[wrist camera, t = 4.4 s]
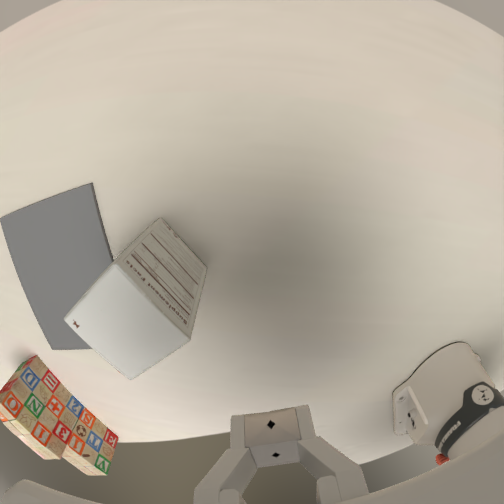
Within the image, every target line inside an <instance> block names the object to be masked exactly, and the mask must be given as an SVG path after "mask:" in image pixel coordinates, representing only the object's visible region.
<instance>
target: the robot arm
mask: <svg viewBox="0 0 504 504" xmlns="http://www.w3.org/2000/svg"><path fill="white" fill-rule="evenodd" d="M480 362H481V359H480V357H479V356H478V355H477V354H474V353H473V351H472V349H471V347H470V346H469V345H468V344H466V343H462V342H460V343H454V344H451V345H449V346H446V347H444V348H443V349H441V350H439V351H438V352H436V353H435V354H433V355H432V356H431V357H430V358H428V359H427V360H426V361H425V362H424V363H423V364H422V365H421V366H420V367H419V368H418V369H417V370H416V371H415V373H414V374H413V375H412V376H411V377H410V378H409V379H408V380H407V381H406V382H405V383H403V384H402V385H401V386H399V387H398V388H397V389H396V390H395V391H394V392H393V413H394V432H395V434H396V435H405V434H409V435H410V437H411V439H412V440H413V442H414V443H415V444H416V445H435V446H436V448H438V450H439V451H440V452H441V454H438V455H437V456H436V461H437V464H439V465H441V464H443V463H444V462H446V461H449V460H450V461H449V462H447V463H445V464H443V465H441V466H439V467H437V468H434V469H433V470H430V471H428V472H426V473H424V474H421V475H419V476H417V477H414V478H412V479H410V480H407V481H405V482H402V483H399V484H397V485H394V486H391V487H388V488H386V489H383V490H380V491H377V492H374V493H371V494H369V492H368V489H367V485H366V482H365V479H364V476H363V472H362V469H361V467H360V466H359V465H357V464H356V463H355V462H353V461H352V460H350V459H349V458H348V457H346V456H345V455H344V454H342V453H341V452H340V451H338V450H337V449H336V448H334V447H333V446H332V445H330V444H329V443H328V442H327V441H325V440H324V439H323V438H321V437H320V436H319V437H316V434H315V430H314V426H313V422H312V418H311V413H310V409H309V406H308V405H303V406H298V407H291V408H286V409H280V410H274V411H270V412H263V413H254V414H244V415H234V416H232V417H231V447H230V448H231V449H227V450H226V451H225V453H224V454H223V455H222V456H221V458H220V459H219V460H218V461H217V463H216V464H215V465H214V466H213V468H212V469H211V470H210V471H209V473H208V474H207V475H206V476H205V477H204V478H203V480H202V481H201V482H200V483H199V484H198V486H197V487H196V488H195V492H194V504H246V502H245V501H244V499H243V498H242V496H241V495H242V494H243V492H244V490H245V489H246V487H247V486H248V484H249V482H250V481H251V479H252V477H253V476H254V474H255V472H256V471H257V468H258V467H266V466H273V465H279V464H288V463H295V462H300V463H301V464H302V465H303V466H304V467H305V468H306V469H307V470H308V471H309V472H310V473H311V474H312V475H313V476H314V477H315V478H316V479H317V480H318V481H317V504H504V397H503V396H502V395H501V394H500V392H499V391H498V390H497V389H495V385H494V383H493V382H492V380H491V379H490V377H489V375H488V374H487V372H486V371H485V369H484V368H483V366H482V365H481V363H480ZM0 504H101V503H97V502H93V501H89V500H85V499H81V498H78V497H75V496H71V495H68V494H65V493H62V492H59V491H56V490H53V489H51V488H47V487H45V486H43V485H40V484H37V483H35V482H33V481H30V480H22V481H20V482H18V483H16V484H15V485H13V486H12V487H10V488H9V489H8V490H6V492H5V493H4V495H3V497H2V499H1V502H0Z"/></svg>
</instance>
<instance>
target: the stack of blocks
mask: <svg viewBox="0 0 504 504" xmlns="http://www.w3.org/2000/svg"><path fill="white" fill-rule="evenodd" d="M0 419H1V420H2V421H3V424H4V425H5V426H6V427H7V428H8V429H9V430H11V432H13V433H14V434H15V435H16V436H17V437H18V438H20V439H21V440H22V441H23V442H24V443H25V444H27V445H28V446H29V447H30V448H31V449H32V450H33V451H35V452H36V453H37V454H38V455H39V456H41V457H42V458H44V459H61V457H63V458H65V459H66V460H67V461H69V462H70V463H71V464H73V465H74V466H76V467H77V468H78V469H79V470H81V471H82V472H84V473H85V474H87V475H107V474H108V471H109V468H110V464H111V459H112V457H113V454H114V451H115V447H116V444H117V441H118V438H119V437H117V436H116V435H115V434H114V433H113V432H111V431H110V430H109V429H108V428H107V427H106V426H105V425H104V424H103V423H102V422H100V421H99V420H98V419H97V418H96V417H95V416H94V415H93V414H92V413H91V412H89V411H88V410H87V409H86V408H85V407H84V406H83V405H82V404H81V403H80V402H79V401H78V400H77V399H76V398H75V397H74V396H73V395H72V394H71V393H70V392H69V391H68V390H67V389H66V388H65V387H64V386H63V385H62V384H61V383H60V381H59V380H58V379H57V378H56V377H55V376H54V375H53V374H52V372H51V371H50V370H49V369H48V368H47V367H46V365H45V364H44V363H43V362H42V361H41V359H40V358H39V357H38V356H37V355H36V356H34V357H32V358H30V359H29V360H27V361H25V362H23V363H22V364H21V365H20V366H19V367H18V369H17V370H16V371H15V373H14V374H13V375H12V377H11V378H10V379H9V380H8V382H7V383H6V384H5V385H4V387H3V388H2V389H1V391H0Z"/></svg>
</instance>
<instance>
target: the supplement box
mask: <svg viewBox="0 0 504 504" xmlns="http://www.w3.org/2000/svg"><path fill="white" fill-rule="evenodd" d="M206 272H207V267H206V266H205V265H204V264H203V263H202V262H201V261H200V260H199V258H198V257H197V256H196V255H195V254H194V253H193V252H192V251H191V250H190V249H189V248H188V247H187V245H186V244H185V243H184V242H183V241H182V240H181V239H180V238H179V237H178V236H177V234H176V233H175V232H174V231H173V230H172V229H171V228H170V227H169V226H168V225H167V223H166V222H165V221H164V220H163V219H162V218H159V219H158V220H157V221H155V222H154V223H153V224H152V225H151V226H150V227H148V228H147V229H146V230H145V231H144V232H143V233H142V234H141V235H140V236H139V237H137V238H136V239H135V240H134V241H133V242H132V243H131V244H130V245H129V246H128V247H127V248H126V249H125V250H124V251H123V252H122V253H121V254H120V255H119V256H118V257H117V258H116V259H115V260H114V261H113V262H112V263H111V264H110V265H109V266H108V268H107V269H106V270H105V271H104V272H103V273H102V274H101V275H100V276H99V277H98V278H97V279H96V281H95V282H94V283H93V284H92V285H91V286H90V287H89V289H88V290H87V291H86V292H85V293H84V294H83V296H82V297H81V298H80V299H79V300H78V302H77V303H76V304H75V305H74V306H73V307H72V309H71V310H70V311H69V312H68V313H67V315H66V316H65V317H64V320H65V322H66V323H67V324H68V325H69V326H70V327H71V328H72V329H73V330H74V331H75V332H76V333H77V334H78V335H79V336H80V337H81V338H82V339H83V340H84V341H85V342H86V343H87V344H88V345H89V346H90V347H91V348H93V349H94V350H95V351H96V352H97V353H98V354H99V355H100V356H101V357H103V358H104V359H105V360H106V361H107V362H108V363H109V364H111V365H112V366H113V367H114V368H115V369H116V370H118V371H119V372H120V373H121V374H123V375H124V376H125V377H127V378H128V379H129V380H132V379H134V378H135V377H137V376H138V375H140V374H142V373H143V372H145V371H146V370H148V369H149V368H151V367H152V366H154V365H155V364H157V363H158V362H160V361H161V360H163V359H164V358H165V357H167V356H168V355H170V354H171V353H173V352H174V351H176V350H177V349H179V348H180V347H181V346H183V345H184V344H186V343H187V342H189V341H190V340H191V334H192V330H193V326H194V322H195V317H196V313H197V309H198V305H199V301H200V297H201V292H202V288H203V284H204V280H205V276H206Z"/></svg>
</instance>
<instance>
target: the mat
mask: <svg viewBox="0 0 504 504" xmlns="http://www.w3.org/2000/svg"><path fill="white" fill-rule="evenodd" d="M0 222H1V225H2V229H3V232H4V236H5V239H6V242H7V246H8V249H9V252H10V255H11V258H12V261H13V263H14V266H15V269H16V272H17V274H18V277H19V280H20V282H21V285H22V287H23V290H24V292H25V294H26V297H27V299H28V301H29V304H30V306H31V308H32V310H33V312H34V315H35V317H36V319H37V321H38V323H39V325H40V327H41V329H42V331H43V333H44V335H45V337H46V339H47V341H48V343H49V344H50V346H51V348H52V350H73V349H93V348H91V347H90V346H89V345H88V344H87V343H86V342H85V341H84V340H83V339H82V338H81V337H80V336H79V335H78V334H77V333H76V332H75V331H74V330H73V329H72V328H71V327H70V326H69V325H68V324H67V323H66V322H65V320H64V317H65V316H66V315H67V313H68V312H69V311H70V310H71V309H72V307H73V306H74V305H75V304H76V303H77V302H78V300H79V299H80V298H81V297H82V296H83V294H84V293H85V292H86V291H87V290H88V289H89V287H90V286H91V285H92V284H93V283H94V282H95V281H96V279H97V278H98V277H99V276H100V275H101V274H102V273H103V272H104V271H105V270H106V269H107V268H108V266H109V265H110V264H111V263H112V262H113V261H114V260H113V257H112V254H111V251H110V247H109V244H108V241H107V237H106V234H105V230H104V227H103V223H102V220H101V216H100V212H99V208H98V204H97V200H96V196H95V192H94V188H93V183H91V184H88V185H85V186H82V187H79V188H76V189H73V190H70V191H67V192H64V193H61V194H59V195H56V196H53V197H50V198H48V199H45V200H43V201H40V202H37V203H35V204H32V205H30V206H27V207H25V208H23V209H20V210H18V211H15V212H13V213H11V214H8V215H6V216H4V217H2V218H0Z"/></svg>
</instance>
